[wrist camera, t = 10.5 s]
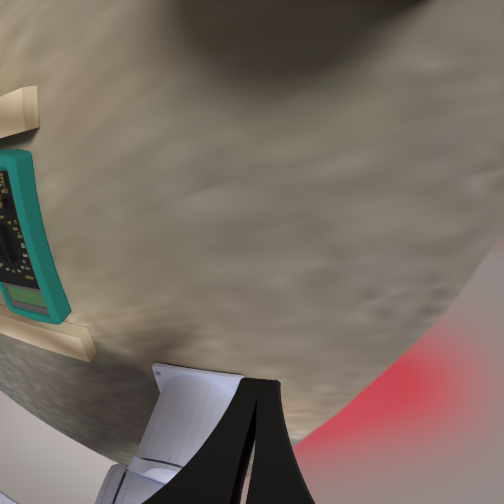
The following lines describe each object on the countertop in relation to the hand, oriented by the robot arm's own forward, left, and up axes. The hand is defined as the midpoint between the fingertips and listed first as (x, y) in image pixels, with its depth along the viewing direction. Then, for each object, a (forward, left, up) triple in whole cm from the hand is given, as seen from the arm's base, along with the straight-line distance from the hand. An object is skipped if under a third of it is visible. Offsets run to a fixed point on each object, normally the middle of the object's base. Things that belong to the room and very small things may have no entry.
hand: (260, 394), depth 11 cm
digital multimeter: (+1, +21, -10) cm, 23 cm away
